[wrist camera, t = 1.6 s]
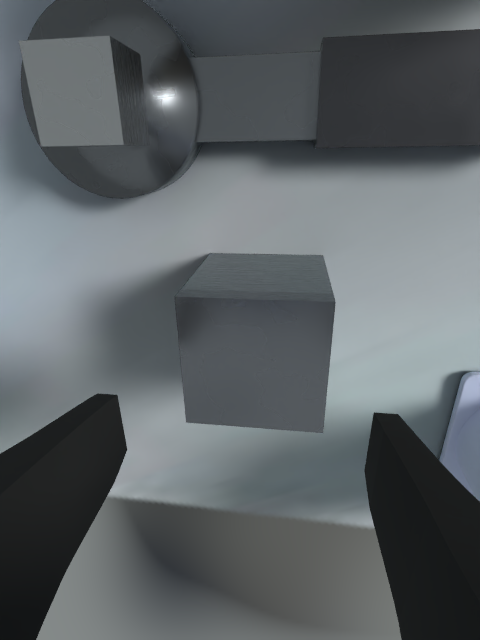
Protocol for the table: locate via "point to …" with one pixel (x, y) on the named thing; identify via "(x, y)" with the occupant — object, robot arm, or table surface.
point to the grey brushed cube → (256, 341)
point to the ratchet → (229, 94)
